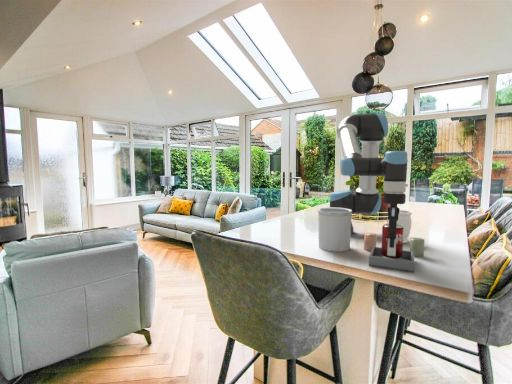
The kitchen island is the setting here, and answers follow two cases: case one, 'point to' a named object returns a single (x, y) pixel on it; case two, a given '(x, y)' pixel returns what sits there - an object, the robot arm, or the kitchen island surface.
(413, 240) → the sage green capsule
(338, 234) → the utensil holder
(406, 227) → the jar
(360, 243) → the kitchen island surface
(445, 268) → the kitchen island surface
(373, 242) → the peach glossy rounded knob
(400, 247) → the soda can
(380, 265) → the tray
